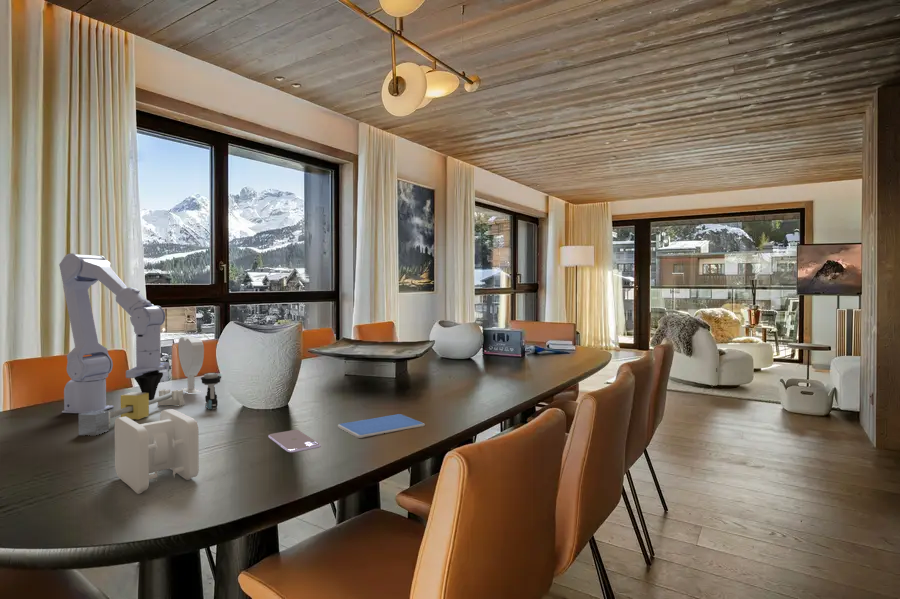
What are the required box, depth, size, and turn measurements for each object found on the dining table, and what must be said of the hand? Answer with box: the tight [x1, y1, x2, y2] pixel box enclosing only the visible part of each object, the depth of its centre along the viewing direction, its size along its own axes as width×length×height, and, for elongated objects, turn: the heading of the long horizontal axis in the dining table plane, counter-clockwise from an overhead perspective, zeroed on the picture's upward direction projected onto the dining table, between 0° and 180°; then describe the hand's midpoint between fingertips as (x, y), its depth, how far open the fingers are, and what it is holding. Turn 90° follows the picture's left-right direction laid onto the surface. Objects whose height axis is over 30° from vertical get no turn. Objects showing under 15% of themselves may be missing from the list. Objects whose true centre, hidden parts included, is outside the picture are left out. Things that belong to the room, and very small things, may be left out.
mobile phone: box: [268, 429, 321, 453], centre depth 118 cm, size 8×1×15 cm
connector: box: [77, 410, 111, 437], centre depth 124 cm, size 4×5×5 cm
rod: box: [110, 391, 172, 419], centre depth 139 cm, size 1×27×1 cm, turn 174°
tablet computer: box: [337, 413, 426, 439], centre depth 132 cm, size 19×13×1 cm, turn 128°
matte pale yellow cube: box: [120, 391, 150, 420], centre depth 137 cm, size 5×4×6 cm
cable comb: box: [157, 388, 185, 407], centre depth 151 cm, size 7×2×4 cm, turn 84°
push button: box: [200, 372, 222, 410], centre depth 148 cm, size 7×5×10 cm
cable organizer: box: [114, 408, 200, 495], centre depth 95 cm, size 15×11×12 cm
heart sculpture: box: [177, 336, 205, 393], centre depth 171 cm, size 16×5×18 cm, turn 43°
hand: (148, 399), depth 140 cm, fingers closed
